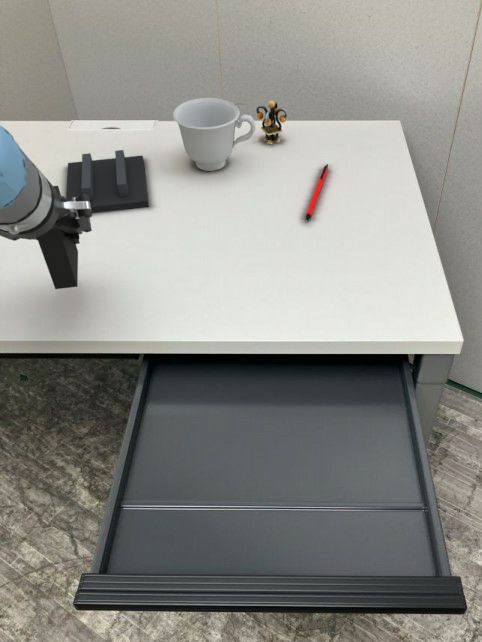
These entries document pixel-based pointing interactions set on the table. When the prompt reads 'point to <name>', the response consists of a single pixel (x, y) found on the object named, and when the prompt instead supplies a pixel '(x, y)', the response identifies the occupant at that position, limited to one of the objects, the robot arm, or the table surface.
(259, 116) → the figurine
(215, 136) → the teacup
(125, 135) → the table surface
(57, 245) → the foam pad
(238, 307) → the table surface
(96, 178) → the base pad
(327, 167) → the pen
